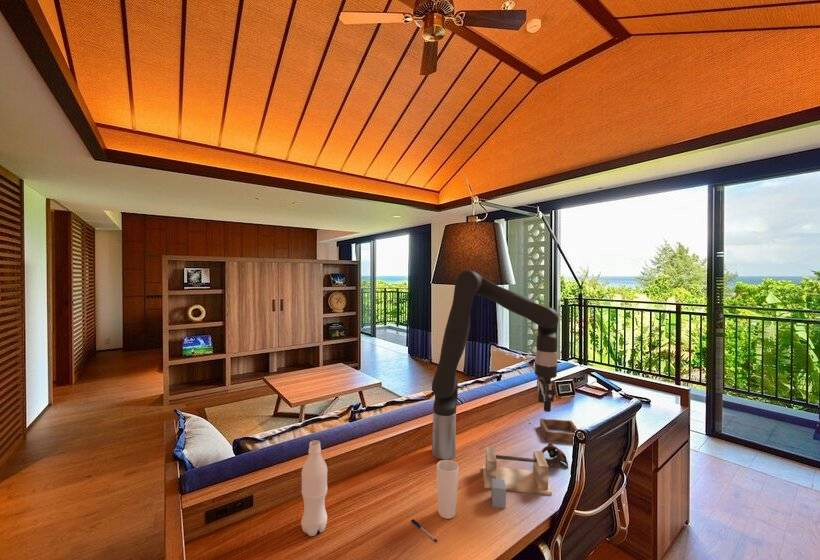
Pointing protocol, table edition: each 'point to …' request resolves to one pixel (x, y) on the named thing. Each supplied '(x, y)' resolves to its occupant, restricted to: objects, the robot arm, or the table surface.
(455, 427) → the robot arm
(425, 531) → the ballpoint pen
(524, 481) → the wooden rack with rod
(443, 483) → the drinking glass
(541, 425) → the open wooden frame
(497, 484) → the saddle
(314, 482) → the water bottle
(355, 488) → the table surface
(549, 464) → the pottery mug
